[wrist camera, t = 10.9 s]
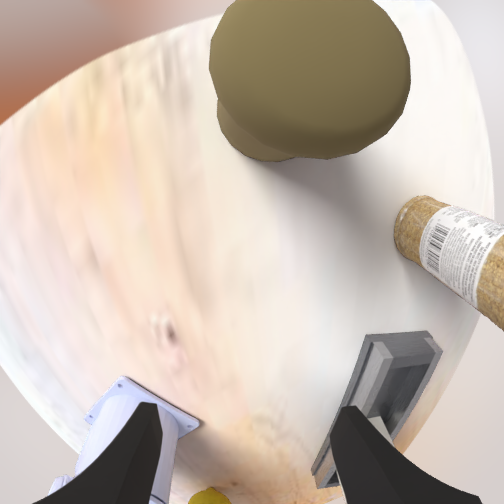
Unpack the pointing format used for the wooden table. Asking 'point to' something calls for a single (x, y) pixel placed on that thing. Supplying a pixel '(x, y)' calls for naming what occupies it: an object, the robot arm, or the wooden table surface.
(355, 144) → the cork
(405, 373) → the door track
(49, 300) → the wooden table surface
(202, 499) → the lemon
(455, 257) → the sprinkles bottle
